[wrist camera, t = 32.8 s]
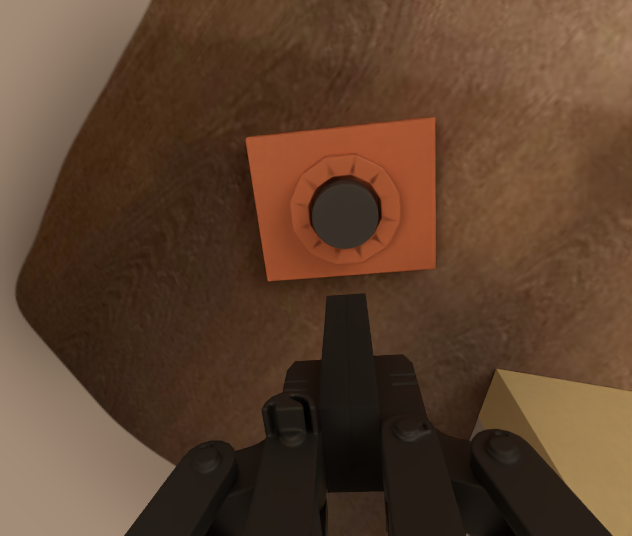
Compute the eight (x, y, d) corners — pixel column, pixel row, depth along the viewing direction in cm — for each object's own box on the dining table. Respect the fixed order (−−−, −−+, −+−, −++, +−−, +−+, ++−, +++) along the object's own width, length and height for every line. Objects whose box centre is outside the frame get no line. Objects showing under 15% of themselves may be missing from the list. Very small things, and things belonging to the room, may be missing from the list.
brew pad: (272, 270, 32) (263, 291, 28) (251, 136, 29) (238, 139, 25) (429, 258, 31) (441, 278, 27) (428, 117, 28) (442, 118, 24)
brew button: (316, 243, 27) (315, 251, 26) (310, 182, 26) (308, 187, 24) (377, 238, 27) (380, 246, 25) (374, 176, 26) (376, 180, 24)
